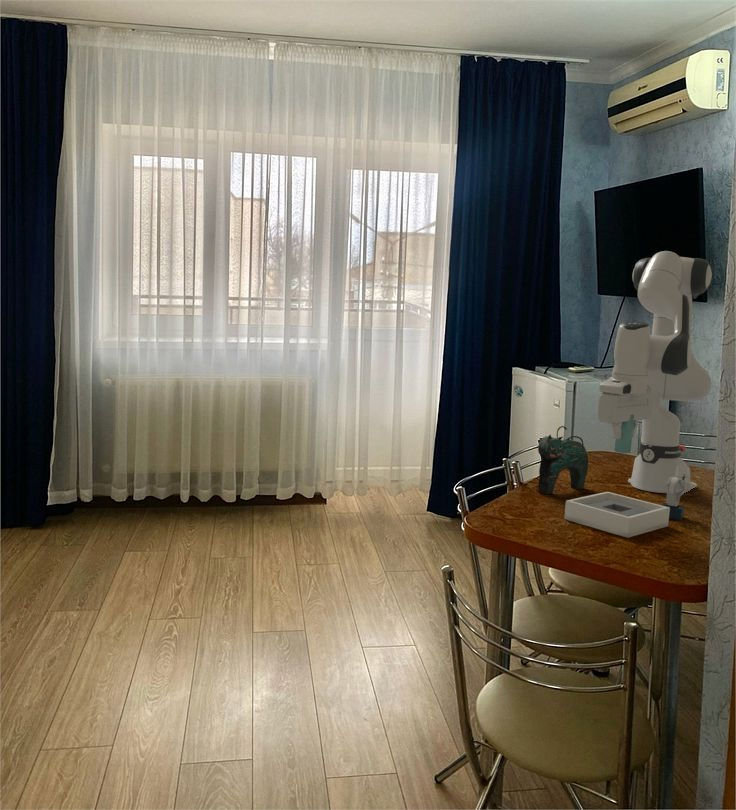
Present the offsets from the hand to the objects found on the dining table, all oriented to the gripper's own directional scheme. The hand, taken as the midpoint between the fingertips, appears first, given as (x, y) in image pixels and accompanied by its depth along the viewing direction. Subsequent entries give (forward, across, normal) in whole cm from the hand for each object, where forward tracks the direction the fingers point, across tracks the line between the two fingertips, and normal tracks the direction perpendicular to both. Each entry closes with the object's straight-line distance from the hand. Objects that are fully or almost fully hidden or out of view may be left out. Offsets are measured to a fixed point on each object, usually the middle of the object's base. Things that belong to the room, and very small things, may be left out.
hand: (623, 437), depth 218 cm
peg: (+4, 0, 0) cm, 4 cm away
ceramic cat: (+23, -16, -30) cm, 41 cm away
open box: (+23, 0, 0) cm, 23 cm away
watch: (+23, -19, +5) cm, 30 cm away
